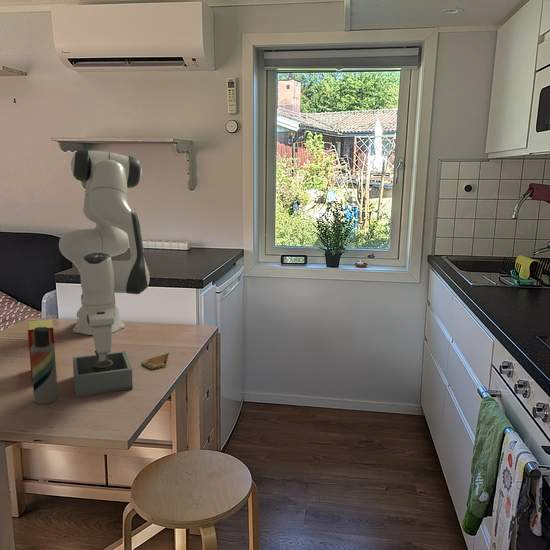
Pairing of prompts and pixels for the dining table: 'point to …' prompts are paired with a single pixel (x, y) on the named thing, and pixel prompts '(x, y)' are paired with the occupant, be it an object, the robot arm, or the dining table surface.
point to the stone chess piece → (101, 364)
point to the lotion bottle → (43, 367)
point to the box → (102, 375)
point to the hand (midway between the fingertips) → (101, 357)
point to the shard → (156, 361)
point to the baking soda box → (35, 324)
